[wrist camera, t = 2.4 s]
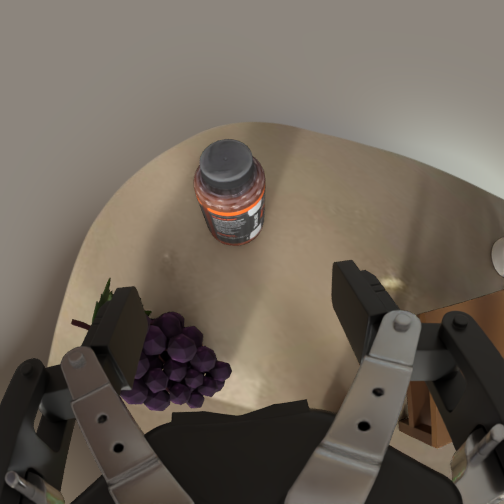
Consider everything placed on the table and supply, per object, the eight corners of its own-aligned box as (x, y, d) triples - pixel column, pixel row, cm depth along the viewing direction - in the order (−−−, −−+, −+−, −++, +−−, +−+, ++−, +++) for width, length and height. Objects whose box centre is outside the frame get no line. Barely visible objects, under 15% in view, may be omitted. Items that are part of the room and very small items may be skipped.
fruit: (213, 401, 30) (78, 365, 27) (235, 306, 31) (95, 270, 29) (224, 448, 20) (38, 396, 17) (256, 318, 21) (55, 265, 19)
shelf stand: (470, 301, 29) (513, 285, 22) (481, 396, 26) (525, 399, 18) (386, 322, 29) (424, 312, 21) (399, 430, 25) (437, 448, 18)
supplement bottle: (273, 235, 32) (279, 177, 21) (219, 256, 32) (199, 206, 21) (251, 188, 34) (248, 120, 23) (200, 207, 33) (177, 144, 23)
